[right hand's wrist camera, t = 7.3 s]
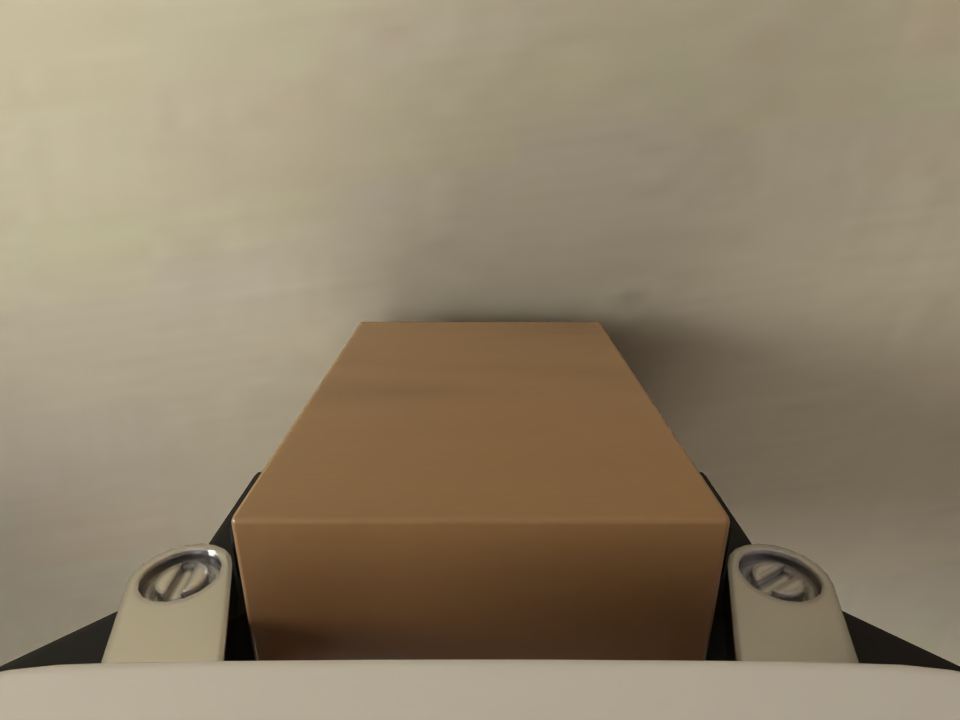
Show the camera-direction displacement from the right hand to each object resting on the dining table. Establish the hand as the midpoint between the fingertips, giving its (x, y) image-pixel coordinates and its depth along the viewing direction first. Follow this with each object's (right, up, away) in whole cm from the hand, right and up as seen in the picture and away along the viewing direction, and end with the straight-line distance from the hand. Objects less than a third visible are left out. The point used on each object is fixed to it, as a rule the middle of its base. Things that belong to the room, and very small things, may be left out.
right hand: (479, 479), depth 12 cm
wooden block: (0, +1, +2) cm, 2 cm away
